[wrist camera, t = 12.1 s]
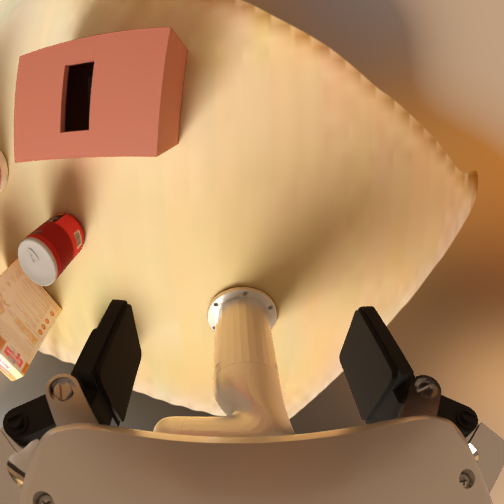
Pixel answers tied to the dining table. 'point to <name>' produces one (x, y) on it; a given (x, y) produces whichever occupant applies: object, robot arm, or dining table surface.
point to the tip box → (100, 96)
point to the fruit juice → (3, 171)
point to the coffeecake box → (22, 320)
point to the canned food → (51, 248)
